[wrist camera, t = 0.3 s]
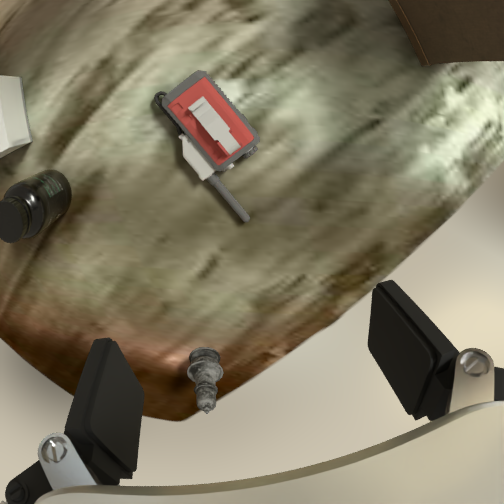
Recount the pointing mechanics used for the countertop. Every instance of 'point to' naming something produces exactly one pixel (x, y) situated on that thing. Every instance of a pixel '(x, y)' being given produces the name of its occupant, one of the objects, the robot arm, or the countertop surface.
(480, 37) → the stacked brown blocks
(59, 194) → the supplement bottle
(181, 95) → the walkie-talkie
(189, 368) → the gray tower figurine
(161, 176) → the countertop surface
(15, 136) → the open gray box
